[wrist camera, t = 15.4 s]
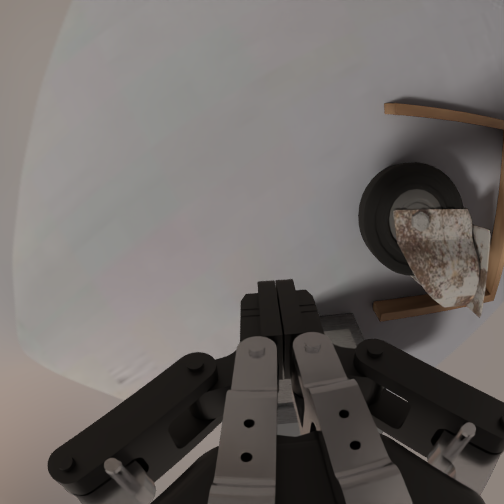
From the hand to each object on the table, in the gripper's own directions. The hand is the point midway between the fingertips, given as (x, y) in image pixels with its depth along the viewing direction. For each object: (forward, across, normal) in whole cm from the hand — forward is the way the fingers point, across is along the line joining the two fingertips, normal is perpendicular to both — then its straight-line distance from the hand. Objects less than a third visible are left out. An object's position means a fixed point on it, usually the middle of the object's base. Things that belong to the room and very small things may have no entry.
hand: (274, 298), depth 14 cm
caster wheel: (+11, -12, +2) cm, 17 cm away
